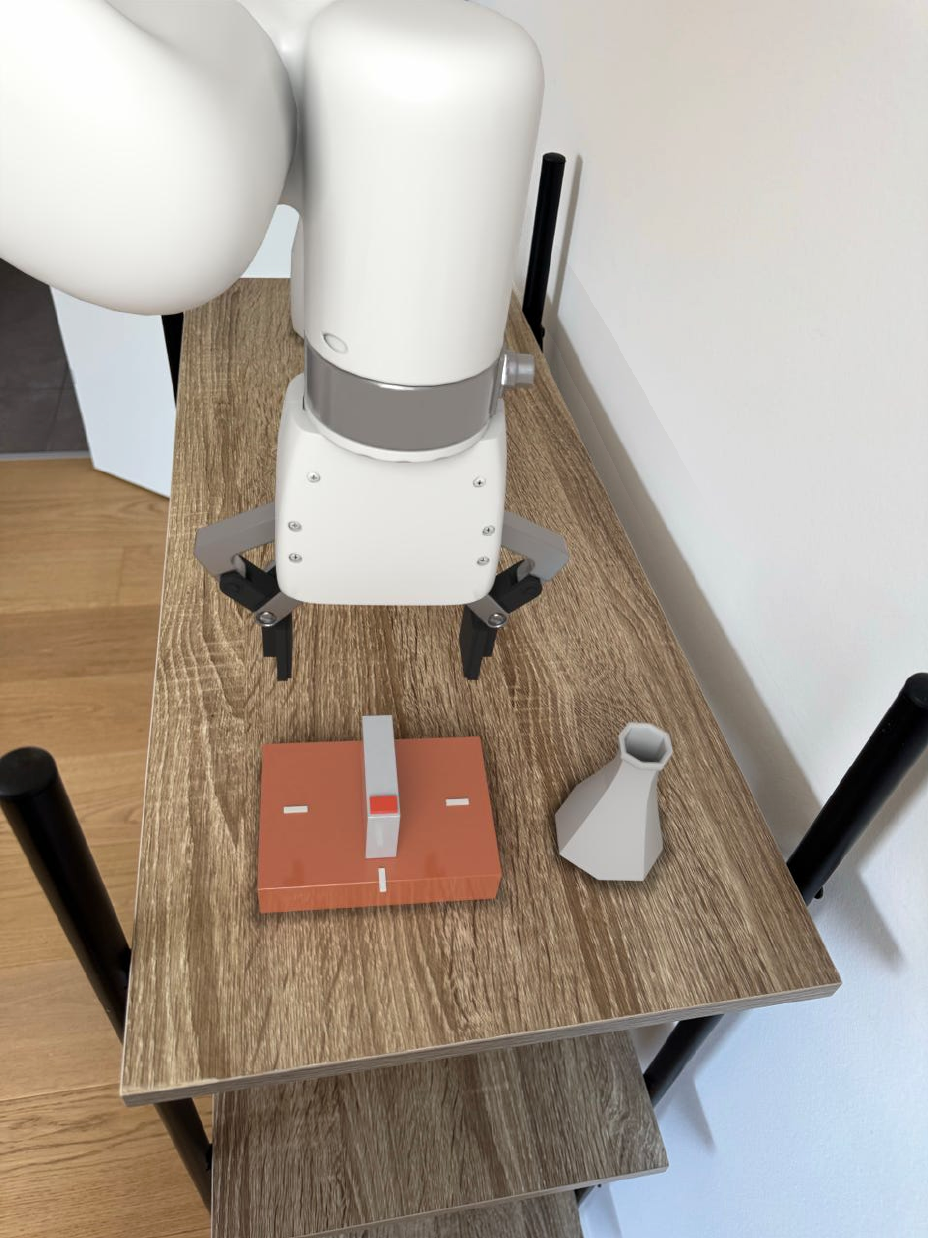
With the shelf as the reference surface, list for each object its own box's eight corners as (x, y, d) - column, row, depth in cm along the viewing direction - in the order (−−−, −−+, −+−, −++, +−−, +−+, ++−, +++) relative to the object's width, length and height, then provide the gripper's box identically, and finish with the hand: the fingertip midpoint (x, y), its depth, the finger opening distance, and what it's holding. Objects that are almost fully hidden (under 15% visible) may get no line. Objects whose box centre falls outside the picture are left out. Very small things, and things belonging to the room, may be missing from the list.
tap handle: (360, 758, 58) (362, 713, 54) (388, 757, 58) (392, 712, 54) (365, 859, 53) (367, 815, 49) (396, 857, 53) (400, 814, 50)
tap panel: (259, 923, 53) (256, 898, 50) (265, 762, 60) (262, 734, 58) (497, 908, 55) (504, 883, 53) (473, 754, 62) (479, 726, 60)
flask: (669, 805, 61) (714, 714, 54) (654, 900, 56) (701, 814, 49) (565, 773, 62) (596, 680, 55) (541, 864, 57) (571, 774, 50)
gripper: (593, 338, 40) (526, 610, 52) (182, 314, 37) (214, 607, 49) (633, 441, 35) (549, 715, 47) (160, 422, 32) (202, 719, 44)
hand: (377, 660), depth 48 cm, fingers open, 9 cm apart
